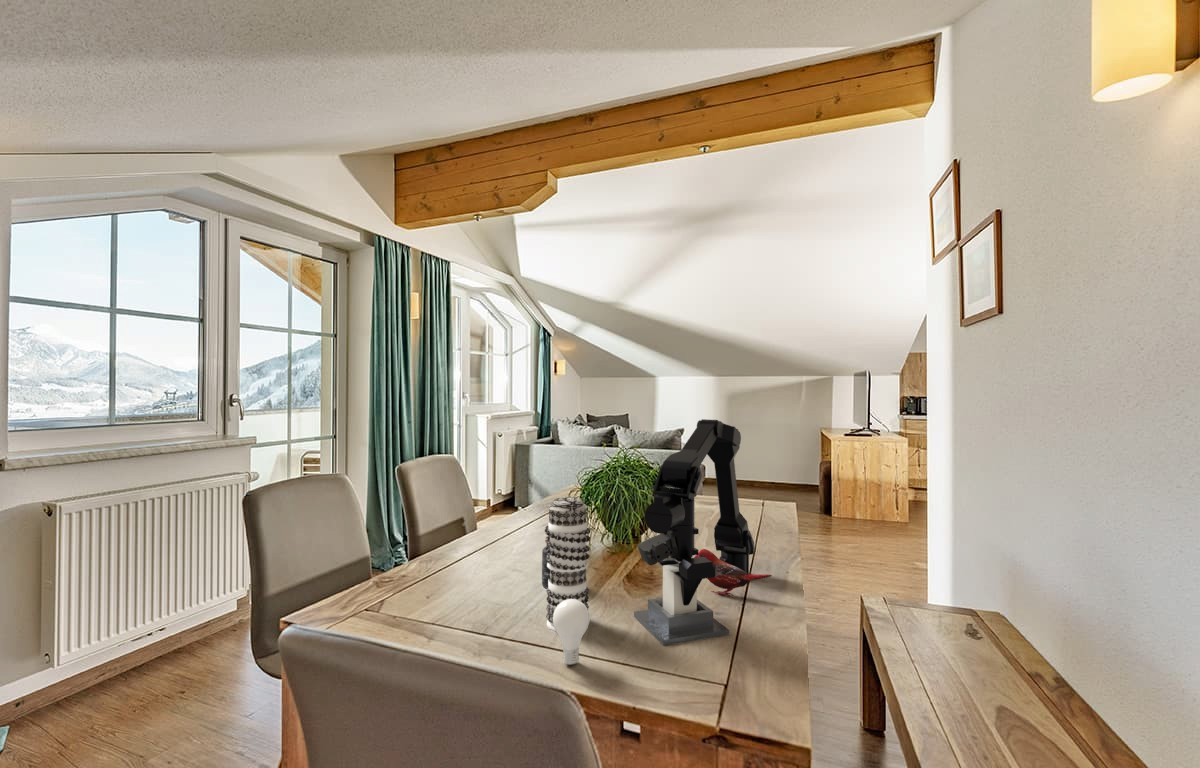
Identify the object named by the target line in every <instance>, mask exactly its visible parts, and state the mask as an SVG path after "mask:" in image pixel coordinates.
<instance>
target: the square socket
mask: <svg viewBox="0 0 1200 768" xmlns="http://www.w3.org/2000/svg"><path fill="white" fill-rule="evenodd" d="M633 618H635V619H636V620H637V621H638V622H639V623H640V624H641V625H642V626H643V627H644V628H645V629H646V630H647V631H648V632H649V633H650V634H651V635H652V636H653V637H654V638H655V639H656V640H657V641H658V642H659V643H660V645H662V646H671V645H677V644H682V643H687V642H694V641H700V640H708V639H713V638H719V637H726V636H730V629H729V628H728V627H726V626H725V625H724V624H722V623H721V622H720V621H719V620H717V619H715V617H714V611H713V610H712V609H711V608H709V606H707V605H706V604H704V603H703V602H702V601H700V600H698V599H697V611H696V612H689V613H682V614H675V615H671V614H669V613H668V612H667V611H666V610H665V609H664V608H663V597H657V598H656V597H655V598H652V599H651V598H650V599H647V609H642V610H635V611H633Z"/></svg>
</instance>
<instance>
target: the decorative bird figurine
mask: <svg viewBox="0 0 1200 768" xmlns="http://www.w3.org/2000/svg"><path fill="white" fill-rule="evenodd" d="M696 557H705V558H706V559H708V560H710V561H712V562H713V563H714V564H715V565H716V566H717V570H716V577H713V578H706V579H707V580H708V581H709V582H710V583H711V584H713V586H716V587H718V588H720V589H723V590H724V591H719V590H718V591H714V590H711V593H715V594H717V595H721V596H729V597H730V596H734V594H733V593H731V591H733V590H734V589H737V588H743V587H745V586H746V585H748V584H749V583H751V582H752V581H756V580H760V579H765V578H770V577H772V576H773V575H772V574H751V573H749V574H748V573H746V572H745V571H743V570H741V569H739V568H737V567H735V566H733V565H730V564H728V563H725V562H723V561H721V560H720V558H719V557H717V555H716V554H714V552H712V551H710V550H708V549H707V548H703V549H702V548H701V549H700V550H698V555H694V556H693V558H696ZM750 574H751V575H750Z"/></svg>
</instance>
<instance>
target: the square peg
mask: <svg viewBox="0 0 1200 768" xmlns="http://www.w3.org/2000/svg"><path fill="white" fill-rule="evenodd" d="M674 572H679V564H672V565H664V566H663V567H662V598H663V608H664V609H665V610H666V611H667V612H668V613H669V614H671V615H675V614H682V613H689V612H696V611H697V600H698V599H697V598H698V595H697V594H698V589H697V590H696V592H695V594H694V596H693V598H692V600H691V602H690V604H689V605H686V606H684V605H683V600H682V592H681V583H680V579H679V578H678V577H677V576H676V575H675V574H674Z"/></svg>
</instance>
